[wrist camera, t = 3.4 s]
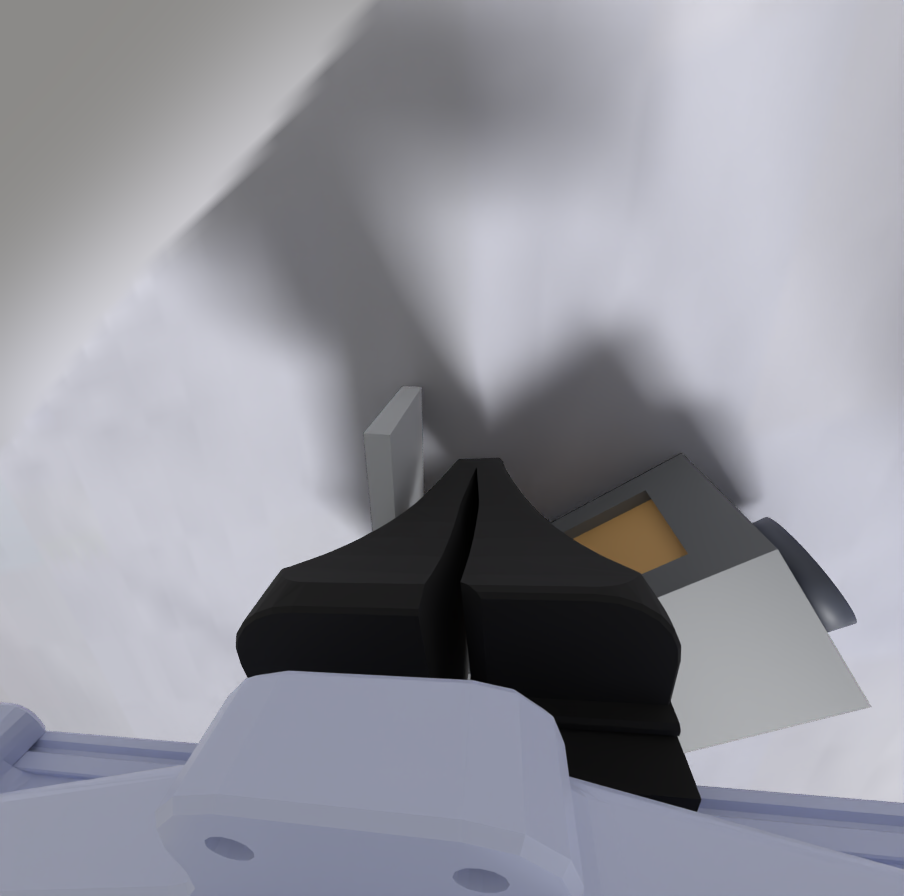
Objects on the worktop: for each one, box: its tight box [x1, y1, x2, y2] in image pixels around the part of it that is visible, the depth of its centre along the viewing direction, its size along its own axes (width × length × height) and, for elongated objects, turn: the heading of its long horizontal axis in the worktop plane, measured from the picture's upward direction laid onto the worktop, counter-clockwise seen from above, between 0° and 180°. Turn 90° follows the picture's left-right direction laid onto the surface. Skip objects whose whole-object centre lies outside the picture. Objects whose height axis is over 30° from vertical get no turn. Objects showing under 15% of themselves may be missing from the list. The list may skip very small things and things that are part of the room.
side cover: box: [363, 386, 424, 531], centre depth 12 cm, size 9×1×4 cm, turn 179°
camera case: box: [468, 453, 871, 753], centre depth 12 cm, size 11×6×5 cm, turn 129°
